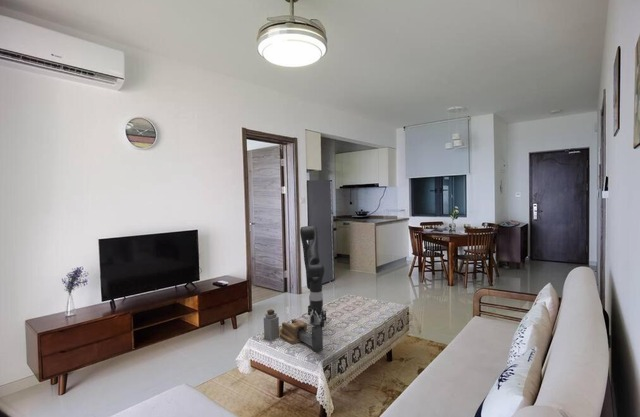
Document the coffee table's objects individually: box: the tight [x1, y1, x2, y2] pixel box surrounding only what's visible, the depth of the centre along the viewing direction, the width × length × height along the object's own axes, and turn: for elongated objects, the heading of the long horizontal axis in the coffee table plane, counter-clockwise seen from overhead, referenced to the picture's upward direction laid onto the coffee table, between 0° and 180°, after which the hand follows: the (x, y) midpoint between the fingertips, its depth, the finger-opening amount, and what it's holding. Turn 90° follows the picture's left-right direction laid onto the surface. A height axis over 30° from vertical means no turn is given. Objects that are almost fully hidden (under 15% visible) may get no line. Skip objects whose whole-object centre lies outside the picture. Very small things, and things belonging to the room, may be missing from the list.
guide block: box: [279, 318, 308, 345], centre depth 226 cm, size 14×14×10 cm
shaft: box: [297, 324, 324, 352], centre depth 217 cm, size 5×28×14 cm, turn 39°
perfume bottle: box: [263, 308, 280, 342], centre depth 227 cm, size 7×7×18 cm
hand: (317, 325), depth 208 cm, fingers open, 8 cm apart
